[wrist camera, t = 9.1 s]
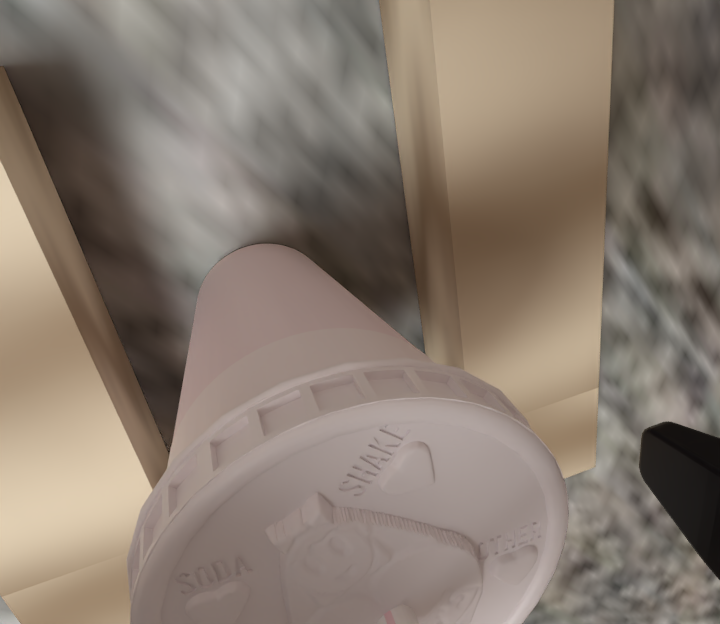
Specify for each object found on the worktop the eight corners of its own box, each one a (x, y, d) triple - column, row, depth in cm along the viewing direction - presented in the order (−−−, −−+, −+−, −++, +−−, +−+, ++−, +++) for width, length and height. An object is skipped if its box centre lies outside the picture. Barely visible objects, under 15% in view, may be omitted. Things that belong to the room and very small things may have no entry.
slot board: (542, 414, 21) (595, 466, 19) (70, 581, 18) (55, 671, 16) (535, -36, 15) (616, -50, 12) (-223, 108, 11) (-335, 132, 9)
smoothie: (241, 439, 18) (406, 1271, 6) (86, 291, 15) (-237, 1467, 3) (410, 318, 18) (919, 909, 6) (293, 142, 15) (899, 662, 3)
